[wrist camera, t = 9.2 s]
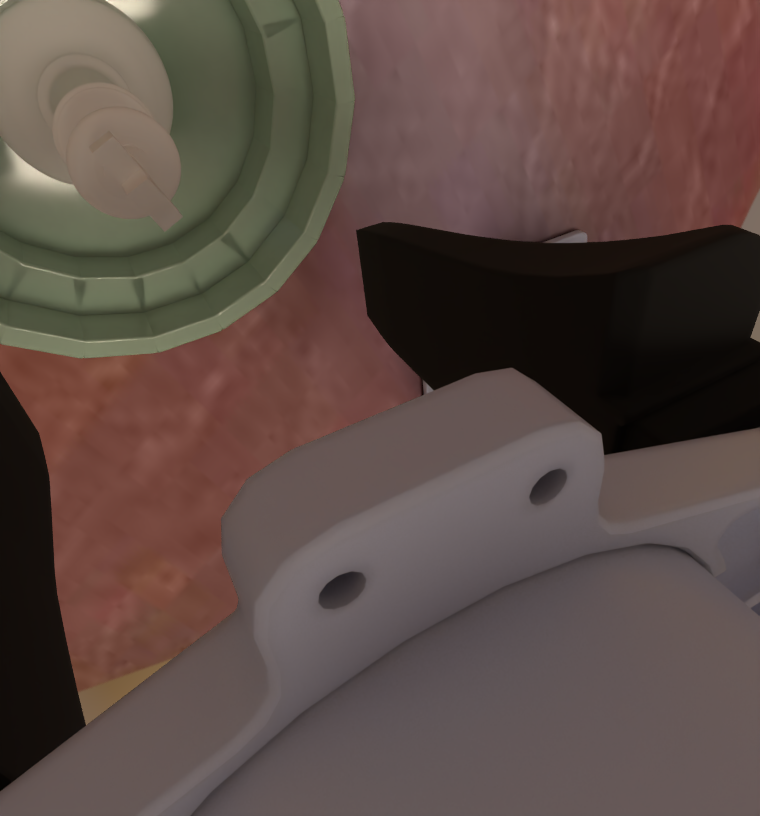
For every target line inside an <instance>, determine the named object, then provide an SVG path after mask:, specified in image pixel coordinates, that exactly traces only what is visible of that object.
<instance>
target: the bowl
mask: <svg viewBox="0 0 760 816" xmlns="http://www.w3.org/2000/svg"><path fill="white" fill-rule="evenodd" d="M7 1H9V0H0V7H1V6H2V5H3V4H4V3H6V2H7ZM105 1H106V2H108V3H110V4H112V5H113V6H115V7H116V8H118V9H119V10H121V11H122V12H123V13H124V14H126V15H127V16H128V17H129V18H130V19H132V20H133V21H134V22H135V23H136V24H137V25H138V26H139V27H140V29H141V30H142V31H143V32H144V33H145V34H146V36H147V37H148V38H149V40H150V41H151V43H152V44H153V46H154V47H155V49H156V51H157V52H158V54H159V56H160V58H161V60H162V63H163V65H164V67H165V70H166V73H167V75H168V78H169V82H170V86H171V91H172V97H173V120H172V126H171V131H170V134H169V135H170V136H171V138H172V139H173V141H174V143H175V145H176V147H177V150H178V153H179V157H180V162H181V177H180V182H179V186H178V189H177V191H176V193H175V195H174V196H173V198H172V199H171V202H172V203H173V204H174V206H175V207H176V208H177V209H178V210H179V212H180V213H181V214H182V216H183V217H182V218H181V219H180V220H179V221H178V222H176V223H175V224H174V225H173V226H171V227H170V228H169V229H168V230H167V231H165V232H164V231H163V230H162V229H161V227H160V226H159V225H158V224H157V223H156V222H155V221H154V220H153V219H152V218H151V217H150V216H147V217H144V218H139V219H122V218H117V217H113V216H110V215H107V214H105V213H103V212H101V211H99V210H98V209H96V208H94V207H93V206H92V205H90V204H89V203H88V202H87V201H86V200H85V199H84V198H83V197H82V196H81V195H80V193H79V192H78V191H77V189H76V188H75V186H74V185H72V184H68V183H64V182H61V181H58V180H56V179H53V178H51V177H49V176H47V175H45V174H43V173H41V172H40V171H38V170H36V169H35V168H33V167H32V166H30V165H29V164H28V163H26V162H25V161H24V160H23V159H22V158H20V157H19V156H18V155H17V154H16V153H15V152H14V151H13V150H12V149H11V148H10V147H9V146H8V145H7V144H6V143H5V141H4V140H3V139H2V138H1V136H0V344H3V345H9V346H14V347H20V348H26V349H31V350H37V351H42V352H48V353H54V354H59V355H65V356H70V357H76V358H83V357H84V358H96V357H109V356H123V355H136V354H149V353H157V352H162V351H165V350H168V349H171V348H174V347H177V346H180V345H182V344H185V343H188V342H191V341H194V340H197V339H199V338H202V337H205V336H208V335H211V334H214V333H217V332H219V331H222V329H225V328H226V327H228V326H229V325H231V324H232V323H234V322H235V321H236V320H238V319H239V318H241V317H242V316H244V315H245V314H246V313H248V312H249V311H251V310H252V309H253V308H255V307H256V306H258V305H259V304H261V303H262V302H263V301H265V300H266V299H268V298H269V297H271V296H272V295H273V294H275V292H277V291H278V290H279V289H280V288H281V286H282V285H283V284H284V283H285V282H286V280H287V279H288V278H289V277H290V275H291V274H292V273H293V272H294V270H295V269H296V268H297V267H298V265H299V264H300V263H301V262H302V260H303V259H304V258H305V257H306V255H307V254H308V253H309V252H310V251H311V249H312V248H313V247H314V246H315V244H316V243H317V240H318V239H319V237H320V235H321V232H322V230H323V228H324V225H325V223H326V220H327V218H328V216H329V213H330V211H331V209H332V206H333V204H334V202H335V199H336V197H337V195H338V192H339V190H340V187H341V185H342V183H343V180H344V176H345V172H346V165H347V157H348V150H349V142H350V135H351V127H352V120H353V112H354V105H355V104H354V101H355V95H354V87H353V79H352V71H351V63H350V55H349V47H348V39H347V31H346V23H345V17H344V16H343V11H342V8H341V6H340V3H339V1H338V0H105Z"/></svg>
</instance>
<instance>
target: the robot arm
mask: <svg viewBox="0 0 760 816" xmlns="http://www.w3.org/2000/svg"><path fill="white" fill-rule="evenodd" d="M356 232H357V240H358V247H359V255H360V262H361V270H362V277H363V285H364V292H365V300H366V307H367V315H368V317H369V318H370V320H371V321H372V322H373V324H374V325H375V327H376V328H377V330H378V331H379V333H380V334H381V335H382V337H383V338H384V339H385V341H386V342H387V343H388V345H389V346H390V347H391V348H392V349H393V350H394V351H395V352H396V353H397V354H398V355H399V356H400V357H401V358H402V359H403V360H404V361H405V362H406V364H407V365H408V366H409V367H410V368H411V369H412V370H413V371H414V372H415V373H417V374H418V375H419V376H420V377H421V378H422V379H423V391H424V395H422V396H420V397H417V398H415V399H413V400H410V401H408V402H405V403H403V404H401V405H398V406H396V407H393V408H391V409H388V410H386V411H384V412H381V413H379V414H376V415H374V416H372V417H369V418H367V419H364V420H362V421H360V422H357V423H355V424H352V425H350V426H348V427H345V428H343V429H340V430H338V431H336V432H333V433H331V434H328V435H326V436H323V437H321V438H319V439H316V440H314V441H311V442H309V443H307V444H304V445H302V446H299V447H297V448H295V449H292V450H290V451H289V452H287V453H286V454H284V455H283V456H281V457H280V458H278V459H277V460H275V461H274V462H272V463H271V464H269V465H268V466H266V467H265V468H263V469H262V470H260V471H258V472H257V473H255V474H254V475H252V476H251V477H249V478H248V479H247V480H246V481H245V483H244V484H243V486H242V487H241V489H240V491H239V492H238V494H237V495H236V497H235V498H234V500H233V501H232V503H231V504H230V506H229V507H228V509H227V510H226V512H225V514H224V515H223V517H222V518H221V532H222V556H223V559H224V561H225V564H226V566H227V569H228V572H229V574H230V577H231V580H232V582H233V585H234V587H235V590H236V593H237V595H238V599H239V600H238V605H237V608H236V610H235V611H234V612H233V613H232V614H230V615H229V616H228V617H226V618H225V619H224V620H223V621H221V622H220V623H219V624H217V625H216V626H215V627H213V628H212V629H211V630H210V631H208V632H207V633H206V634H204V635H203V636H202V637H200V638H199V639H198V640H197V641H195V642H194V643H193V644H191V645H190V646H189V647H187V648H186V649H185V650H184V651H182V652H181V653H180V654H178V655H177V656H176V657H174V658H173V659H172V660H171V661H169V662H168V663H167V664H166V665H164V666H163V667H161V668H160V669H159V670H158V671H156V672H155V673H154V674H152V675H151V676H150V677H149V678H147V679H146V680H145V681H143V682H142V683H141V684H139V685H138V686H137V687H136V688H134V689H133V690H132V691H130V692H129V693H128V694H127V695H125V696H124V697H122V698H121V699H120V700H119V701H117V702H116V703H115V704H113V705H112V706H111V707H109V708H108V709H107V710H106V711H104V712H103V713H102V714H100V715H99V716H98V717H97V718H95V719H94V720H93V721H91V722H90V723H89V724H87V725H86V724H85V720H84V716H83V712H82V708H81V703H80V699H79V695H78V691H77V687H76V683H75V678H74V674H73V669H72V664H71V660H70V655H69V651H68V646H67V642H66V637H65V632H64V627H63V622H62V617H61V611H60V606H59V601H58V596H57V588H56V580H55V569H54V550H53V531H52V512H51V496H50V481H49V473H48V469H47V464H46V460H45V455H44V451H43V447H42V443H41V439H40V435H39V433H38V431H37V429H36V428H35V426H34V425H33V423H32V421H31V420H30V418H29V417H28V415H27V414H26V412H25V410H24V409H23V407H22V406H21V404H20V402H19V401H18V399H17V398H16V396H15V395H14V393H13V391H12V390H11V388H10V387H9V385H8V383H7V382H6V380H5V379H4V377H3V376H2V374H1V372H0V816H760V342H758V341H756V340H754V339H752V338H750V337H751V334H752V331H753V328H754V325H755V322H756V320H757V317H758V314H759V311H760V236H759V235H757V234H755V233H752V232H749V231H747V230H744V229H741V228H739V227H736V226H733V225H719V226H714V227H708V228H703V229H697V230H692V231H686V232H680V233H675V234H669V235H663V236H656V237H647V238H639V239H630V240H620V241H607V242H587V234H586V233H585V232H582V231H580V230H576V231H573V232H570V233H567V234H565V235H562V236H559V237H556V238H554V239H551V240H548V241H545V242H543V243H542V242H522V241H510V240H501V239H493V238H486V237H478V236H472V235H465V234H460V233H454V232H448V231H443V230H437V229H432V228H426V227H421V226H415V225H409V224H402V223H393V222H382V223H378V224H375V225H372V226H369V227H366V228H362V229H359V230H356Z"/></svg>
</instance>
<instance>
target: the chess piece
mask: <svg viewBox="0 0 760 816" xmlns="http://www.w3.org/2000/svg"><path fill="white" fill-rule="evenodd" d="M172 120H173V97H172V91H171V86H170V82H169V78H168V75H167V73H166V70H165V67H164V65H163V63H162V60H161V58H160V56H159V54H158V52H157V51H156V49H155V47H154V46H153V44H152V43H151V41H150V40H149V38H148V37H147V36H146V34H145V33H144V32H143V31H142V30H141V29H140V27H139V26H138V25H137V24H136V23H135V22H134V21H133V20H132V19H130V18H129V17H128V16H127V15H126V14H124V13H123V12H122V11H121V10H119V9H118V8H116V7H115V6H113V5H112V4H110V3H108V2H106V1H105V0H9V1H7V2H6V3H4V4H3V5H2V6H1V7H0V136H1V138H2V139H3V140H4V141H5V143H6V144H7V145H8V146H9V147H10V148H11V149H12V150H13V151H14V152H15V153H16V154H17V155H18V156H19V157H20V158H22V159H23V160H24V161H25V162H26V163H28V164H29V165H30V166H32V167H33V168H35V169H36V170H38V171H40V172H41V173H43V174H45V175H47V176H49V177H51V178H53V179H56V180H58V181H61V182H64V183H68V184H72V185H74V186H75V188H76V189H77V191H78V192H79V193H80V195H81V196H82V197H83V198H84V199H85V200H86V201H87V202H88V203H89V204H90V205H92V206H93V207H94V208H96V209H98V210H99V211H101V212H103V213H105V214H107V215H110V216H113V217H117V218H122V219H139V218H144V217H147V216H150V217H151V218H152V219H153V220H154V221H155V222H156V223H157V224H158V225H159V226H160V227H161V229H162V230H163V231H164V232H165V231H167V230H168V229H169V228H170V227H171V226H173V225H174V224H175V223H176V222H178V221H179V220H180V219H181V218H182V217H183V216H182V214H181V213H180V212H179V210H178V209H177V208H176V207H175V206H174V204H173V203H172V202H171V199H172V198H173V196H174V195H175V193H176V191H177V189H178V186H179V182H180V177H181V162H180V157H179V153H178V150H177V147H176V145H175V143H174V141H173V139H172V138H171V136H170V135H169V134H170V131H171V126H172Z"/></svg>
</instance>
